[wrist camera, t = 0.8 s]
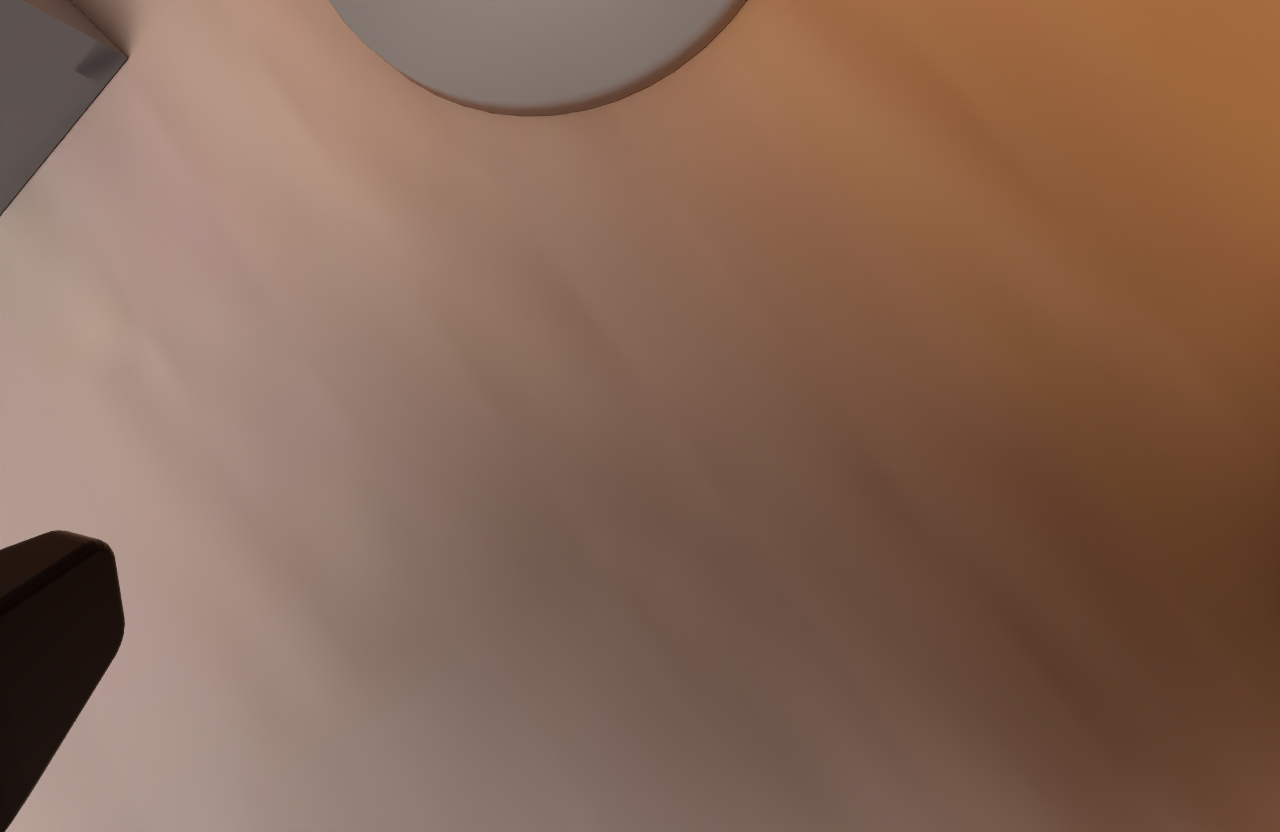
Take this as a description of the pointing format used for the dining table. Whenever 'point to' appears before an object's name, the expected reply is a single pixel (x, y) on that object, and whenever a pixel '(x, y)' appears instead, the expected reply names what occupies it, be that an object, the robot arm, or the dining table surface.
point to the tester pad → (536, 47)
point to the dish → (45, 81)
